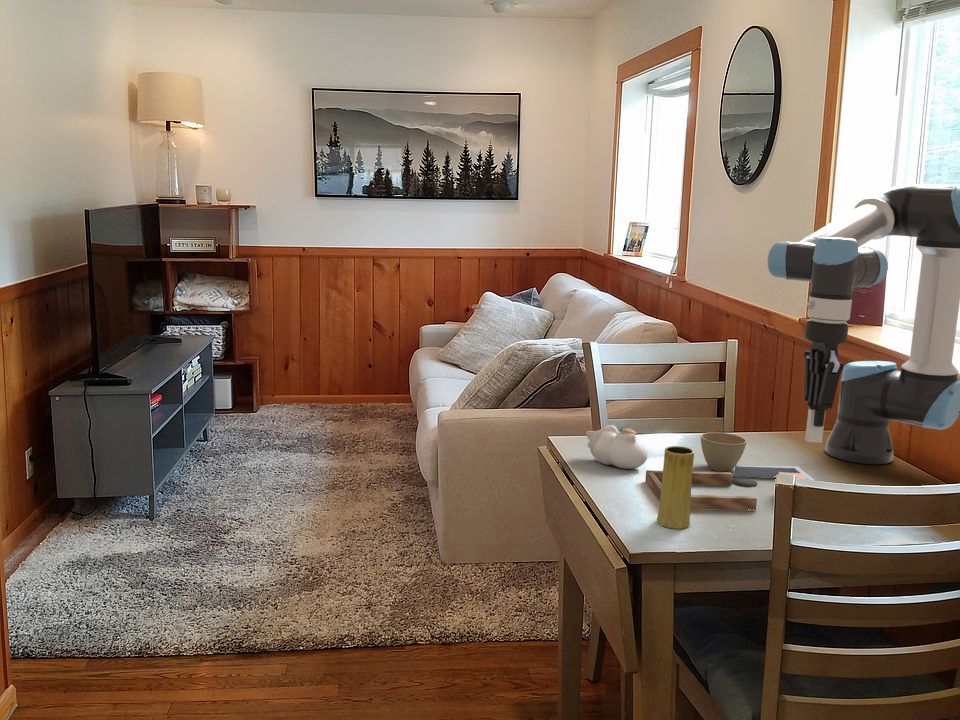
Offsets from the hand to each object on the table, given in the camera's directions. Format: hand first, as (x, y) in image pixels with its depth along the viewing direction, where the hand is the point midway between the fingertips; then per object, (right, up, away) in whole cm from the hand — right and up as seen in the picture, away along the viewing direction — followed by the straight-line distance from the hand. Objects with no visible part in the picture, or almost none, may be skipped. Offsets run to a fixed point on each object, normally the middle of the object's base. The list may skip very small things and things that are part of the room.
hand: (813, 441), depth 175 cm
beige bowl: (-10, -9, +30) cm, 33 cm away
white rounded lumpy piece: (-34, -8, +30) cm, 46 cm away
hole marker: (-8, -11, +20) cm, 24 cm away
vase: (-28, -15, -6) cm, 32 cm away
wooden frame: (-19, -12, +11) cm, 25 cm away
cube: (-1, -13, +11) cm, 17 cm away
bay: (-1, -11, +21) cm, 23 cm away
